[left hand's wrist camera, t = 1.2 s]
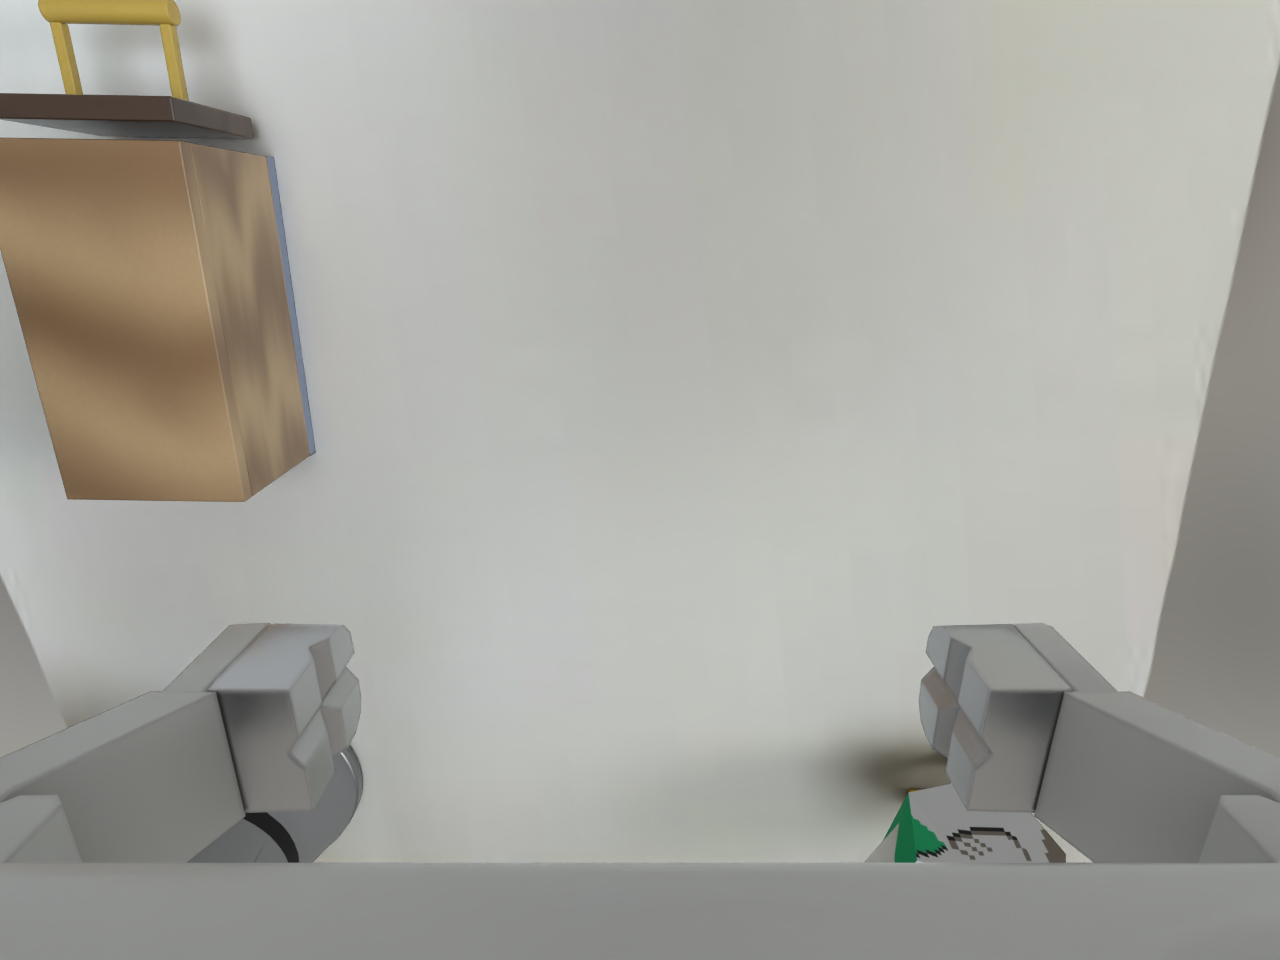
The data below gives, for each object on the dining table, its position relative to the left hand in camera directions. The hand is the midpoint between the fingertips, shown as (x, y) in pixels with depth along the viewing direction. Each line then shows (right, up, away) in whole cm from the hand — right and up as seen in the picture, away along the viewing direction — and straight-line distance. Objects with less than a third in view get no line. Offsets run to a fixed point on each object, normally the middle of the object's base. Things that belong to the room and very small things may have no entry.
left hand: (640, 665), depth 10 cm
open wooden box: (-29, +14, +40) cm, 52 cm away
